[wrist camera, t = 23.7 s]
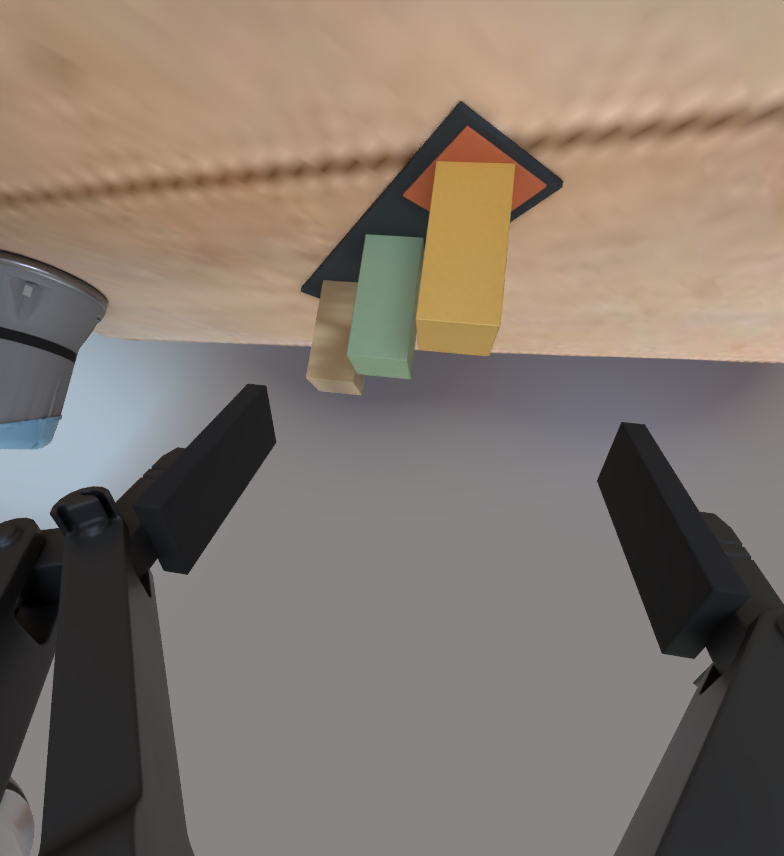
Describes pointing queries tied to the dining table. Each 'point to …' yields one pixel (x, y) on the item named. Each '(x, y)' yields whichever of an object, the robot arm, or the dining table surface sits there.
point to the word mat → (412, 190)
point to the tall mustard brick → (465, 257)
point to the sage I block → (386, 306)
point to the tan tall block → (334, 341)
